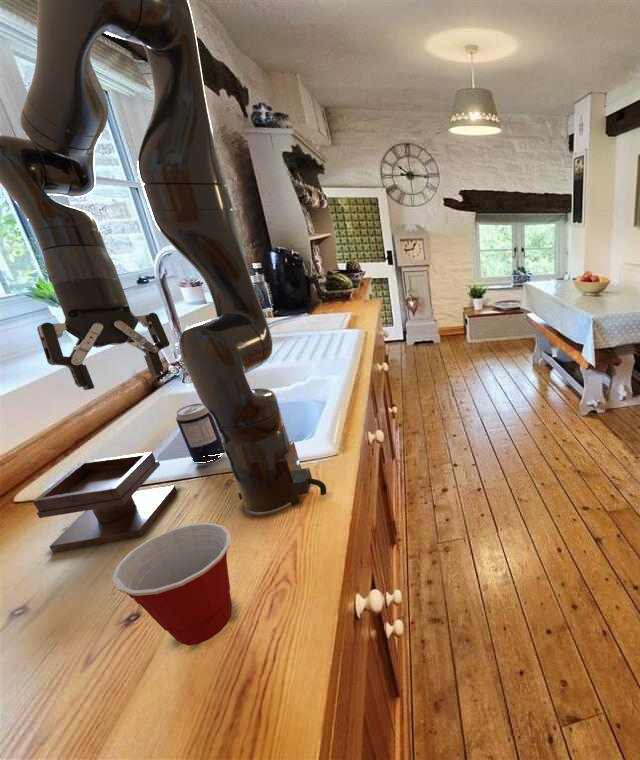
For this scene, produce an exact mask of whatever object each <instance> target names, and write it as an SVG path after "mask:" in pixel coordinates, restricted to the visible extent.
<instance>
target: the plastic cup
mask: <svg viewBox="0 0 640 760" xmlns="http://www.w3.org/2000/svg"><path fill="white" fill-rule="evenodd" d="M231 533H232V532H230V531H229V530H228V529H227V527H225V526H224V525H221V524H217V523H214V522H203V523H202V522H201V523H191V524H186V525H183V526H178V527H176V528H171V529H168V530H167V531H165V532H163V533H160V534H157V535H156V536H153V537H150V538H149V539H147V540H146V541H144V542H143V543H141V544H139V545H138V546H136V547H135V548H134V549H132V550H130V552H128V553H127V555H125V556H124V558H122V560H121V561H120V562H119V563H118V564H117V565H116V567H115V570H114V572H113V575H112V578H111V580H112V582H113V584H114V586H115V588H116V589H117V591H119V592H121V593H124V594H126V595H128V596H129V597H130V598H131V599H133V600H134V601H135V603H136V604H137V605H140V606H141V608H143V610H144V611H146V613H147V614H148V615H150V617H151V618H152V619H153V620H154V621H155V622H156V623H157V624H158V625H159V626H160V627H161V628H162V629H163V630H164V631H166V632H167V633H169V634H170V636H172V638H173V639H174V640H175V641H177V642H178V643H180V644H182V645H185V646H188V647H190V646H196V645H200V644H202V643H204V642H207V641H209V640H211V639H212V638H214V637H215V636H217V635H218V634H220V632H222V631H223V629H224V628H225V627H226V626H227V625H228V624H229V621H230V619H231V618H232V612H233V611H232V610H233V603H232V598H231V597H232V596H231V586H230V585H231V584H230V575H229V568H228V559H227V558H228V550H229V549H230V547H231Z"/></svg>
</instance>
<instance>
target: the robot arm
mask: <svg viewBox="0 0 640 760" xmlns="http://www.w3.org/2000/svg"><path fill="white" fill-rule="evenodd" d="M36 16H37V17H36V18H37V19H36V25H37V26H36V27H37V28H36V29H37V30H36V31H37V32H36V58H35V67H34V72H33V77H32V80H31V83H30V86H29V89H28V92H27V95H26V97H25V101H24V104H23V107H22V110H21V113H20V117H19V122H20V127H21V129H22V131H23V133H24V135H26V137H27V138H22V137H17V136H13V135H4V134H1V135H0V185H1V187H2V188H3V189H4V190H5V191H6V192H7V193H8V194H9V196H10V197H11V199H12V200H13V201H14V203H16V205H17V206H18V208H19V210H21V212H22V214H23V215H24V216H25V218H26V219H27V221H28V222H29V224H30V226H31V228H32V230H33V233H34V235H35V237H36V240H37V243H38V245H39V248H40V250H41V253H42V257H43V260H44V266H45V270H46V272H47V276H48V280H49V282H50V284H51V285H52V288H53V290H54V293H55V296H56V299H57V301H58V303H59V306H60V308H61V311H62V313H63V315H64V319H65V320H64V323H62V322H61V323H51V322H43V323H41V324H39V325H38V326H37V327H36V330H37V334H38V336H39V340H40V342H41V343H40V344H41V346H42V349H43V352H44V355H45V358H46V361H47V364H48V365H50V366H64V367H67V368H68V369H69V371H70V375H71V376H72V378H73V381H74V384H75V385H76V386H77V387H78V388H83V391H88V390H93V389H95V385H94V382H93V380H92V377H91V375H90V372H89V370H88V367H87V365H86V364H83V362H84V360H85V359H86V357H87V355H88V354H89V353H90V352H91V350H92V349H93V348H103V347H107V346H118V345H119V346H120V345H123V344H125V343H127V344H128V345H130V346H132V347H135V348H136V349H138V350H140V351H141V352H142V353H144V355H143V357H144V361H145V363H146V365H147V368H148V371H149V374H150V376H151V377H159V376H161V375H162V372H164V366H163V363H162V360H161V357H160V351H161V350H163V349H166V348H168V347H169V346H170V345H171V344H170V341H169V339H168V336H167V334H166V331H165V329H164V327H163V325H162V322H161V320H160V317H159V315H158V313H156V312H150V313H147V314H141V315H135V314H134V313H133V312H132V309H131V307H130V305H129V304H130V303H129V302H128V298H127V296H126V293H125V291H124V288H123V285H122V282H121V279H120V276H119V274H118V271H117V269H116V265H115V263H114V262H113V260H112V258H111V256H110V254H109V252H108V250H107V248H106V244H105V241H104V238H103V236H102V233H101V230H100V228H99V224H98V223H97V220H96V219H95V218H94V216H93V215H92V214H91V213H89V212H88V211H85V210H82V209H79V208H76V207H72V206H70V205H69V206H68V205H65V204H62V203H60V202H58V201H56V200H55V199H53V198H52V197H51V196H50V195H53V196H61V197H62V196H64V197H73V198H80V197H85V196H88V195H89V194H92V193H93V191H94V190H95V189H96V184H97V183H96V182H97V181H96V179H97V178H96V172H95V150H96V147H97V145H98V143H99V141H100V139H101V136H102V134H103V132H104V130H105V128H106V126H107V122H108V119H109V103H108V99H107V95H106V94H105V91H104V89H103V87H102V86H103V85H102V84H101V82H100V80H99V77H98V75H97V74H96V72H95V69H94V67H93V64H92V61H91V52H92V49H93V47H94V46H95V43H96V41H97V40H98V39H99V38H100V36H102V35H103V34H106V35H109V36H111V37H115V38H118V39H121V40H123V41H128V42H131V43H134V44H138V45H141V46H142V47H143V48H144V52H145V54H146V57H147V60H148V65H149V68H150V73H151V79H152V83H153V84H152V85H153V91H154V92H153V94H154V100H153V101H154V102H153V106H152V111H151V115H150V118H149V121H148V124H147V126H146V129H145V131H144V134H143V138H142V140H141V143H140V146H139V147H140V148H139V151H138V156H137V173H138V178H139V180H140V183H141V186H142V190H143V193H144V197H145V199H146V202H147V206H148V208H149V211H150V214H151V216H152V220H153V221H154V223H155V226H156V227H157V228H158V230H159V231H160V233H161V234H162V235H163V236H164V238H165V239H166V240H167V241H168V242H169V243H170V245H171V246H172V247H173V248H174V249H175V250H176V251H177V252H178V254H180V255H181V256H182V257H183V258H184V259H185V261H187V262H188V263H189V265H191V266H192V268H194V269H195V271H196V272H197V273H198V274H199V275H200V277H201V278H202V279H203V281H204V283H205V285H206V286H207V289H208V291H209V294H210V297H211V299H212V303H213V307H214V310H215V314H216V317H215V318H211V319H208V320H205V321H202V322H199V323H195V324H193V325H191V326H189V327H187V328H185V329H184V330H183V331H182V333H181V334H180V337H179V352H180V356H181V359H182V362H183V365H184V367H185V369H186V372H187V374H188V376H189V378H190V381H191V382H192V385H193V387H194V389H195V392H196V394H197V396H198V398H199V401H200V402H201V404H203V406H204V407H205V409H206V410H207V411H208V412H209V413H210V414H211V416H212V418H213V420H214V423H215V425H216V428H217V431H218V433H219V436H220V439H221V442H222V445H223V447H224V450H225V453H224V454H225V455H226V459H227V461H228V464H229V467H230V469H231V472H232V475H233V477H234V481H235V482H236V486H237V488H238V491H239V492H238V494H237V496H238V498H239V502H241V501H242V503H243V507H244V509H245V511H246V513H247V514H249V515H250V516H255V517H265V516H271V515H275V514H278V513H281V512H283V511H285V510H287V509H289V508H291V507H293V506H297V505H300V502H301V501H302V497H303V495H306V494H309V491H310V489H311V488H310V487H311V485H314V486H317V487H318V488H319V490H320V496H324V495H327V486H326V484H325V483H324V482H323V481H322V480H320V479H316V478H313V476H312V473H311V469H310V467H305V468H302V465H301V462H300V459H299V455H298V450H297V447H296V444H295V442H294V440H291V441H290V439H289V436H288V432H287V429H286V425H285V421H284V418H283V415H282V411H281V407H280V404H279V401H278V397H277V395H276V393H275V392H274V391H273V390H271V389H268V388H263V387H251V386H250V384H249V381H248V379H247V377H246V374H249V373H250V372H252V371H255V370H256V369H257V368H260V367H261V366H263V365H265V364H266V363H268V362H269V360H270V359H271V357H272V354H273V349H274V348H273V347H274V345H273V338H272V333H271V330H270V327H269V324H268V321H267V318H266V315H265V313H264V311H263V308H262V305H261V301H260V299H259V297H258V294H257V292H256V289H255V286H254V283H253V280H252V276H251V273H250V270H249V266H248V263H247V259H246V255H245V252H244V249H243V245H242V242H241V237H240V234H239V231H238V226H237V221H236V216H235V212H234V208H233V203H232V200H231V199H232V198H231V196H230V195H231V194H230V192H229V188H228V183H227V180H226V177H225V174H224V170H223V167H222V163H221V159H220V155H219V150H218V147H217V143H216V139H215V138H216V137H215V134H214V130H213V126H212V121H211V116H210V112H209V108H208V102H207V96H206V91H205V90H206V89H205V84H204V79H203V72H202V65H201V59H200V52H199V46H198V40H197V34H196V28H195V22H194V17H193V13H192V8H191V6H190V2H189V0H37V15H36ZM138 323H139V324H140V325H141V326H142V327H143V328H145V329H146V328H147V331H148V333H149V335H150V338H151V340H152V342H153V343H152V342H151V341H149V340H148V339H147V338H146V337H145V336H144V335H142V334H141V333H139V332H138V331H136V327H138ZM64 331H66V332H67V333H68V334H69V335H71V336H73V337H75V338H77V339H78V340H77V341H76V343H75V344H74V346H73V347H72V350H71V352H70V355H69V356H64V353H63V351H62V347H61V344H60V340H59V338H62V337H63V336H64V335H63V333H64Z"/></svg>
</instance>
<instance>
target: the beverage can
mask: <svg viewBox="0 0 640 760" xmlns="http://www.w3.org/2000/svg"><path fill="white" fill-rule="evenodd" d="M175 413H176V417H175V420H176V423H177V425H178V428H179V431H180V433H181V435H182V438H183V441H184V443H185V445H186V448H187V451H188V452H189V455H190V458H191V460H192V462H193V461H194V462H206V463H196V464H198V465H200V466H209V465H211V464H215V463H217V462H218V461H220V460H221V459H222V458H223V456H224V455H225V454H226V453H225V450H224V447H223V445H222V442H221V439H220V436H219V433H218V431H217V428H216V425H215V423H214V420H213V418H212V416H211V414H210V413H209V412H208V411H207V410H206V409H205V407H204V406H203V404H202V403H192V404H190V405H185V406H183V407H181V408H179V409H178V410H177V411H176V412H175ZM220 453H224V454H223V455H222V456H221V457H219V458H218V456H220V455H216V456H208V455H215V454H220ZM203 456H205V457H203ZM192 458H193V459H192ZM214 459H215V460H214ZM210 460H213V461H210ZM207 461H210V462H207ZM194 462H193V463H194Z"/></svg>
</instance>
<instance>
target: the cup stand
mask: <svg viewBox="0 0 640 760" xmlns="http://www.w3.org/2000/svg"><path fill="white" fill-rule="evenodd" d="M160 466H161V464H160V461H159V460H156V457H155V455H154V453H153V451H148V452H141V453H134V454H127V455H121V456H115V457H105V458H99V459H92V460H85V461H81V462H79V463H78V464H77V465H76V466H75V467H73V468H71V469H70V470H69V471H68V472H67V473H66V474H64V475H63V476H62V477H60V479H58V480H57V481H56V482H55V483H53V484H51V486H49V488H47V489H45V491H44V492H42V493H41V494H40V495H38V496H37V497H36V498H35V499H34V500H32V503H33V505H34V506H35V508H36V509H37V512H36V515H37V516H38V518H39V519H44V518H50V517H56V516H62V515H68V514H73V513H74V514H75V513H79V512H83V513H82V514H80V516H79V517H78V518H77V519H76V520H74V521H73V522H72V524H70V526H68V527H67V528H66V529H65V530H64V531H63V532H62V533H61V534H60V535H59V536H58V537H57V538H56V539H55V540H54V541H53V542H51V544H50V545H49V546H48V547H49V550H51V552H52V553H55V552H61V551H68V550H74V549H79V548H84V547H89V546H95V545H100V544H106V543H112V542H118V541H123V540H124V541H125V540H130V539H133V538H139V537H143V535H144V534H145V532H146V531H147V530H148V529H149V527H150V526H151V525H152V523H153V522H154V521H155V520H156V519H157V517H158V516H159V514H160V513H161V512H162V510H163V509H164V508H165V506H166V505H167V504H168V503H169V501H170V500H171V499H172V498H173V496H175V494H176V492H177V490H178V489H177V488H176V485H170V486H169V485H168V486H163V487H157V488H156V487H155V488H149V489H142V490H139V489H140V488H141V487H142V485H144V484H145V482H146V481H147V480H148V479H149V478H150V477H151V476H152V475H153V473H154V472H155V471H156V470H157V469H159V467H160ZM138 490H139V491H138Z"/></svg>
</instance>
